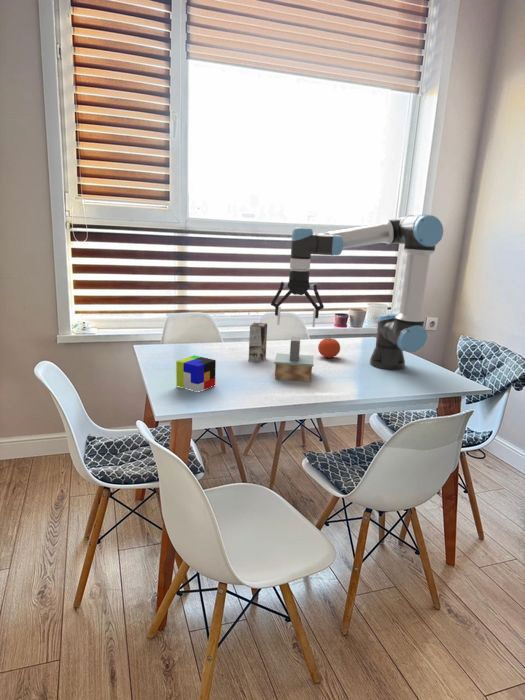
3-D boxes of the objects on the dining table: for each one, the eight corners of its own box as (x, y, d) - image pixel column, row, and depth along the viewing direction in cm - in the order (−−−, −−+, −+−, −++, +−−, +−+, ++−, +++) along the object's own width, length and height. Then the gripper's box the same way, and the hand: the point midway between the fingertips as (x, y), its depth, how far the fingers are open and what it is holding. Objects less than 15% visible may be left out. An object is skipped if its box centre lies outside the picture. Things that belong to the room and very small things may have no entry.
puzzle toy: (197, 393, 165) (198, 366, 163) (176, 387, 170) (176, 361, 168) (215, 386, 174) (215, 360, 171) (194, 380, 179) (194, 355, 176)
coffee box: (262, 363, 205) (263, 327, 201) (248, 361, 206) (249, 325, 202) (266, 357, 214) (267, 323, 210) (252, 356, 215) (253, 322, 211)
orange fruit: (339, 355, 223) (341, 335, 220) (339, 361, 213) (341, 340, 210) (318, 353, 224) (319, 333, 222) (316, 359, 215) (318, 338, 212)
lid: (313, 361, 191) (314, 336, 189) (313, 370, 179) (314, 344, 176) (276, 358, 193) (277, 334, 190) (274, 367, 180) (275, 341, 178)
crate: (310, 374, 192) (312, 357, 191) (310, 383, 181) (312, 366, 179) (277, 371, 194) (277, 355, 192) (274, 380, 182) (275, 363, 180)
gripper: (332, 271, 179) (327, 325, 184) (267, 267, 181) (264, 321, 186) (333, 272, 172) (328, 329, 177) (265, 268, 174) (262, 324, 179)
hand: (295, 325), depth 182 cm, fingers open, 13 cm apart
